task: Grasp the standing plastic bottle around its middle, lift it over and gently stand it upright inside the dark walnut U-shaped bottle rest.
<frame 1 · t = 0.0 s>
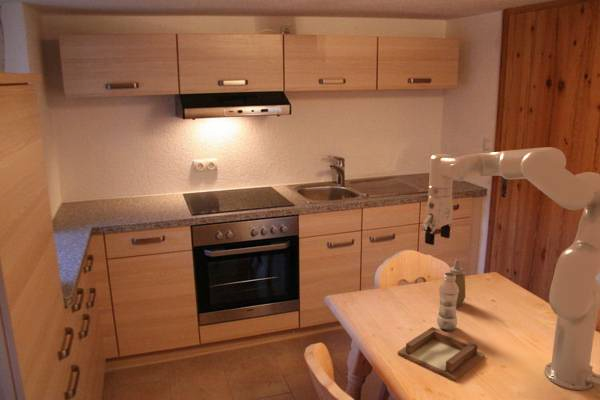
hand: (437, 240, 167), 31 cm above the table, tool pointing down, fingers open, 9 cm apart
bottle rest: (440, 355, 155), on the table
plastic bottle: (446, 328, 172), on the table
squeeze bottle: (453, 304, 190), on the table
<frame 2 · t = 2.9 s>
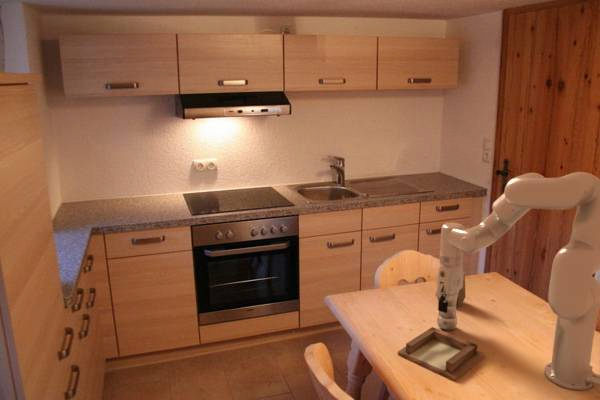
hand: (447, 307, 170), 8 cm above the table, tool pointing down, fingers closed on plastic bottle, 6 cm apart
plastic bottle: (446, 328, 172), on the table, touching gripper
everything else where it was.
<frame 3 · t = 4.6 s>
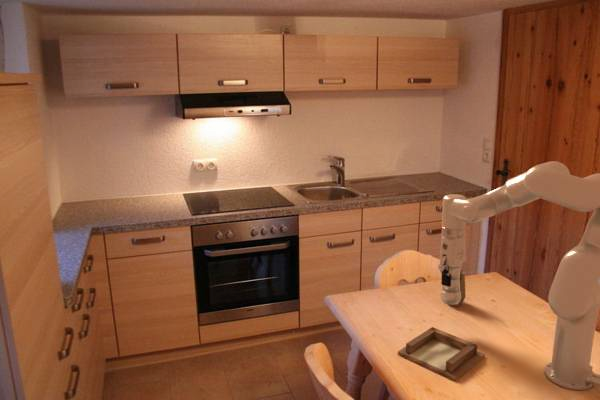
hand: (451, 282, 167), 17 cm above the table, tool pointing down, fingers closed on plastic bottle, 6 cm apart
plastic bottle: (450, 303, 169), point 10 cm above the table, touching gripper
everything else where it was.
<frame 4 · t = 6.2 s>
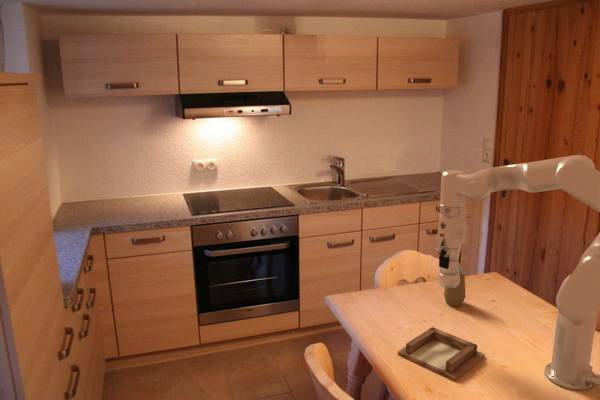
hand: (449, 264, 157), 27 cm above the table, tool pointing down, fingers closed on plastic bottle, 6 cm apart
plastic bottle: (448, 287, 159), point 19 cm above the table, touching gripper
everything else where it was.
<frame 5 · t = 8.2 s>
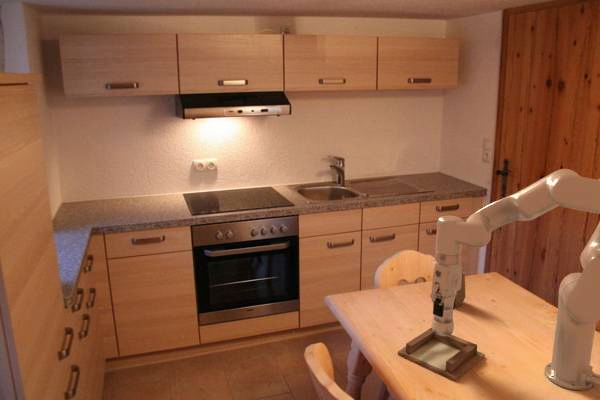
hand: (443, 311, 152), 15 cm above the table, tool pointing down, fingers closed on plastic bottle, 6 cm apart
plastic bottle: (442, 334, 154), point 7 cm above the table, touching gripper
everything else where it was.
when the fingers open (10 cm above the table, at t = 9.6 s): plastic bottle stays where it is, resting on bottle rest.
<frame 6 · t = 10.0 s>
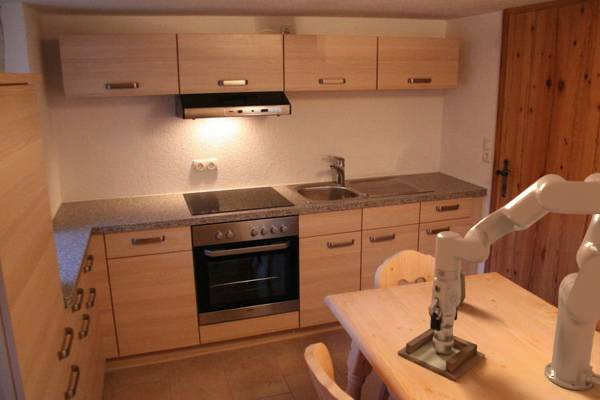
hand: (443, 324, 153), 11 cm above the table, tool pointing down, fingers open, 9 cm apart
plastic bottle: (442, 351, 155), point 1 cm above the table, touching bottle rest
everything else where it was.
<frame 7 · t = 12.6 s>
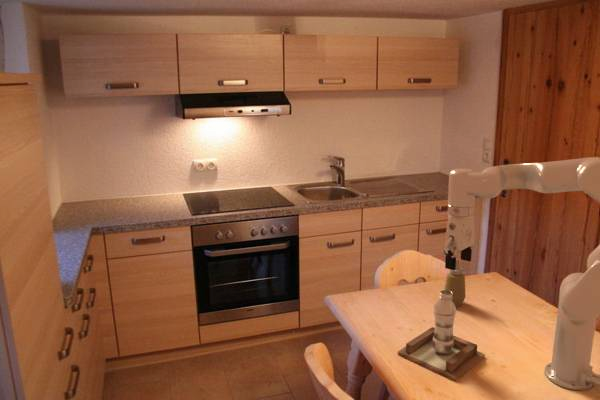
hand: (458, 264, 151), 29 cm above the table, tool pointing down, fingers open, 9 cm apart
nothing on the table moved.
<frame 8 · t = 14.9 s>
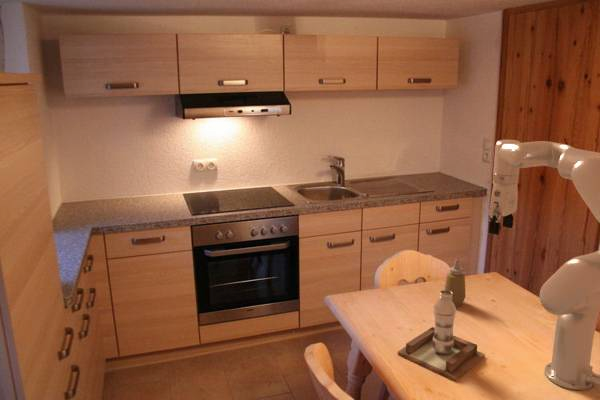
hand: (500, 230, 161), 36 cm above the table, tool pointing down, fingers open, 9 cm apart
nothing on the table moved.
at the end: plastic bottle inside the target area on the bottle rest (1.1 cm from its centre), point 1.1 cm above the bottle rest's base; plastic bottle tilted 0°; the gripper is holding nothing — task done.
